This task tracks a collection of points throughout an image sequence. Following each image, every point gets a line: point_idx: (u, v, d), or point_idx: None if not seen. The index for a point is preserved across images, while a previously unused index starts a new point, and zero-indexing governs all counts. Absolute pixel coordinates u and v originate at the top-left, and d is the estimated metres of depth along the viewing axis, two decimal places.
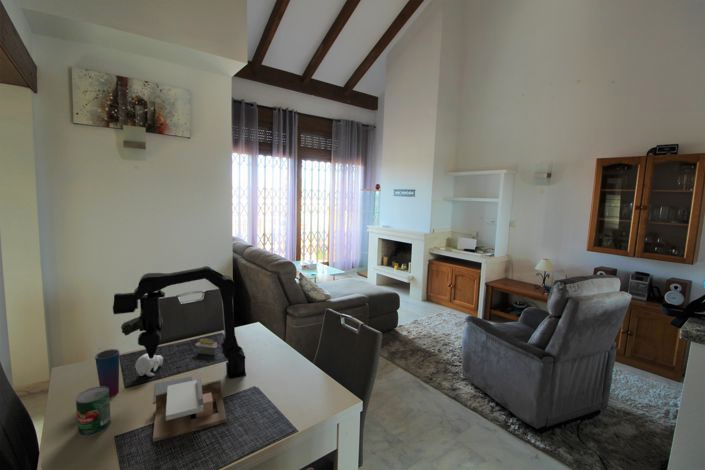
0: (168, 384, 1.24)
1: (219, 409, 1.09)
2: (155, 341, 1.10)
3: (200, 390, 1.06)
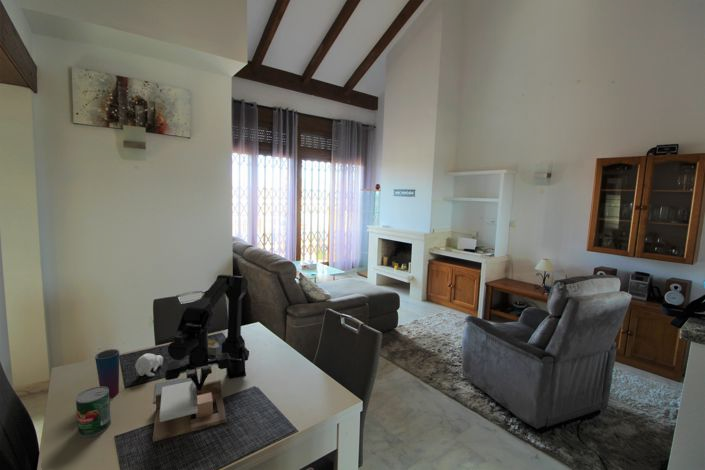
0: (168, 384, 1.24)
1: (219, 409, 1.09)
2: (165, 377, 1.01)
3: (195, 391, 1.05)
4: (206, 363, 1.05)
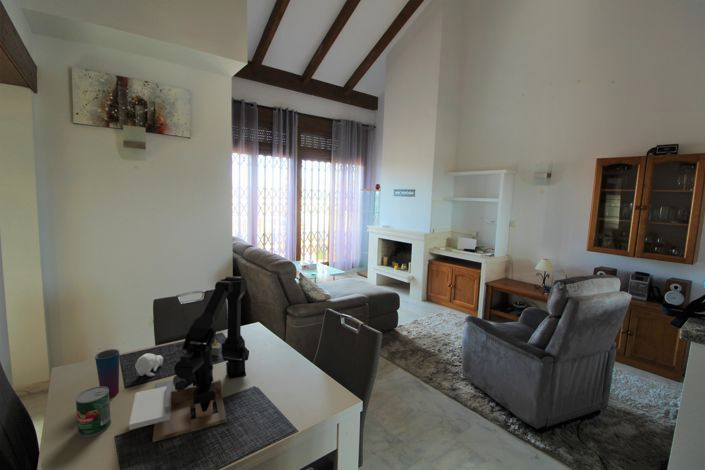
0: None
1: (219, 409, 1.09)
2: (211, 399, 1.01)
3: (168, 397, 1.02)
4: None
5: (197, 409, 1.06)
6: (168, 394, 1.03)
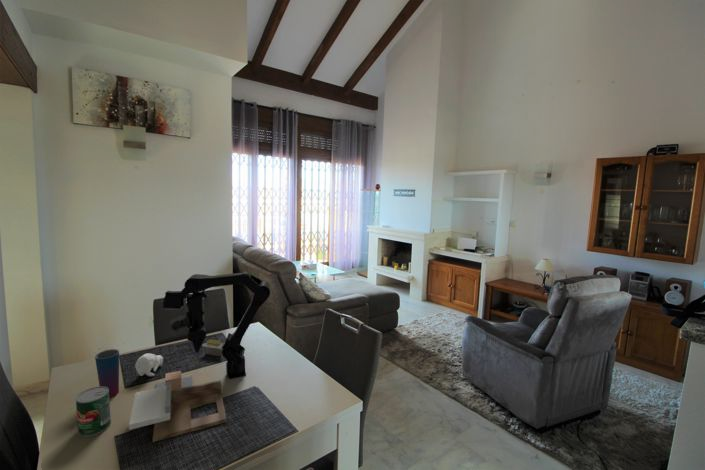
0: None
1: (219, 409, 1.09)
2: (202, 336, 1.20)
3: (168, 397, 1.02)
4: None
5: (166, 385, 1.18)
6: (168, 394, 1.03)
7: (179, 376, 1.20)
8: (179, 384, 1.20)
